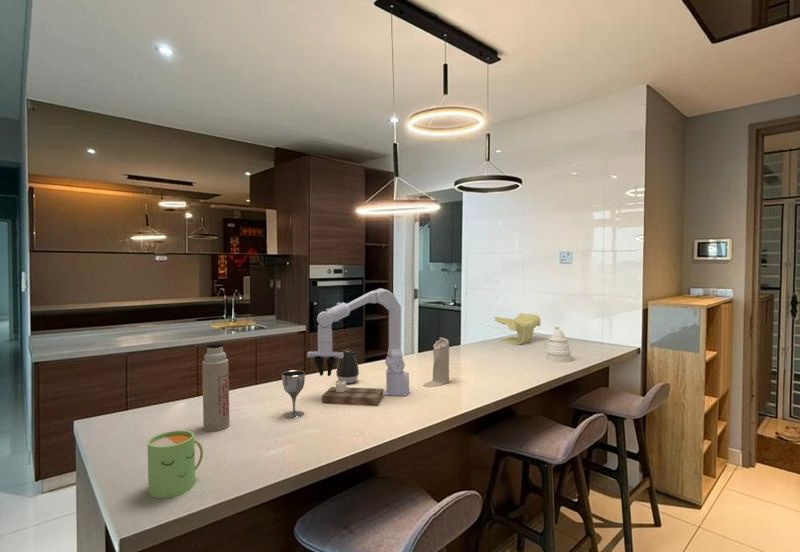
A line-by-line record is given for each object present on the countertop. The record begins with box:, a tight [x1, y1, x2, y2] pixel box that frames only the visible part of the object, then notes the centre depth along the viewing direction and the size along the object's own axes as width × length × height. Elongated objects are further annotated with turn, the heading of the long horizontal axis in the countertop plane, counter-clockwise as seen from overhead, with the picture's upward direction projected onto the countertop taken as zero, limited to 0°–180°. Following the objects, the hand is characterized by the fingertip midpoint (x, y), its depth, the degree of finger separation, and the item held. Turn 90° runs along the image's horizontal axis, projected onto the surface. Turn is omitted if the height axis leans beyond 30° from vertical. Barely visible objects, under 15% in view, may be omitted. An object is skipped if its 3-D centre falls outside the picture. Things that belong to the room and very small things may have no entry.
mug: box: [147, 430, 204, 499], centre depth 106 cm, size 13×10×12 cm
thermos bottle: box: [201, 342, 231, 433], centre depth 144 cm, size 8×8×28 cm
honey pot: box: [545, 326, 572, 363], centre depth 239 cm, size 13×13×18 cm
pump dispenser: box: [335, 348, 360, 385], centre depth 197 cm, size 10×10×15 cm
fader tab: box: [335, 380, 347, 392], centre depth 172 cm, size 3×4×3 cm
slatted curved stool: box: [494, 312, 541, 345], centre depth 291 cm, size 30×16×18 cm, turn 131°
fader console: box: [321, 386, 384, 407], centre depth 172 cm, size 22×12×3 cm, turn 81°
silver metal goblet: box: [281, 369, 306, 419], centre depth 155 cm, size 8×8×15 cm
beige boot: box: [422, 337, 450, 388], centre depth 193 cm, size 7×14×20 cm, turn 131°
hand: (325, 375), depth 173 cm, fingers open, 3 cm apart
